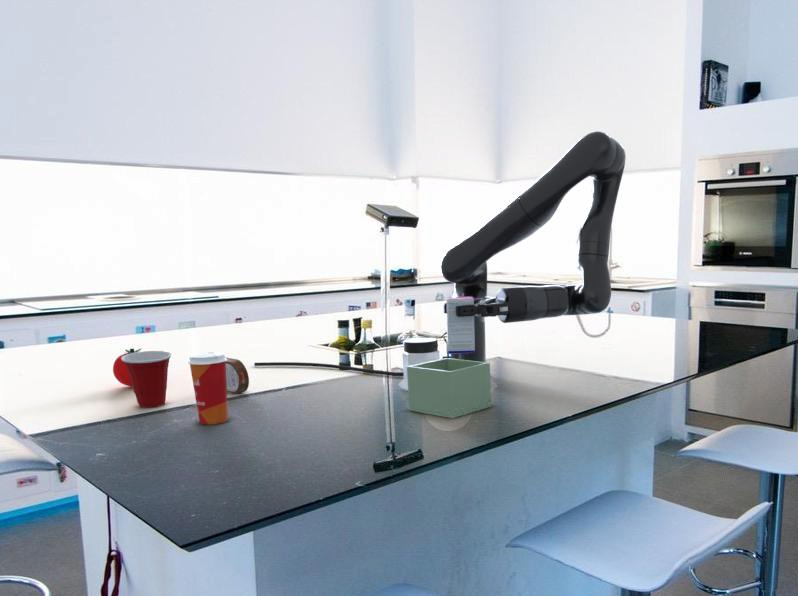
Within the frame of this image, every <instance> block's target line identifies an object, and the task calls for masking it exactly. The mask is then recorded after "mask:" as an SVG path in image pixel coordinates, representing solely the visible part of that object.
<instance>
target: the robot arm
mask: <svg viewBox="0 0 798 596" xmlns="http://www.w3.org/2000/svg"><path fill="white" fill-rule="evenodd" d="M626 160H627V156H626V151H625V149H624V147H623V145H622V144H621V143H620V142H619V141H617V140H616V139H614V138H613V137H611V136H610V135H609V134H607V133H605V132H603V131H592V132H589V133H587V134H585V135H584V136H583V137H581V138H580V139H578V141H576V143H574V144H573V145H572V146H571V147H570V148H569V150H567V152H566V153H565V154H563V156H562V157H561V158H560V159H559V160H558V161H557V162H556V163H555V164H553V166H551V167H550V168H549V169H548V170H547V171H546V172H545V173H543V174H542V175H541V176H539V177H538V178H537V179H536V180H535V181H534V182H532V183H531V185H529V186H528V187H526V188H525V189H524V190H523V191H521V192H520V193H519V194H518V195H516V196H515V197H514V198H513V199H511V200H510V201H509V202H508V203H507V204H506V205H504V207H502V208H501V209H500V210H499V211H497V213H496V214H494V215H492V217H491V218H490V219H489V220H487V221H486V222H485V223H484V224H483V225H482V226H481V227H480V228H479V229H477V230H476V231H475V232H473V233H472V234H471V235H469V236H468V237H466V238H464V239H463V240H461V241H460V242H458V243H457V244H456V245H454V246H452V247H450V248H449V249H448V250H447V251H446V252H445V253H444V254H443V256H442V259H441V260H440V274H441V276H442V277H443V279H445V280H446V281H447V282H448V283H451V284H454V289H453V293H452V295H451V296H450V297H473V299H474V305H462V306H456V316H458V317H463V316H474V334H475V352H474V353H460V354H448V348H447V347H446V354H445V355H443V356H442V359H444V358H451V359H460V360H469V361H478V362H487V349H486V318H489V317H490V318H491V317H493V318H494V317H497V318H498V319H499V321H500V322H502V323H503V324H509V323H519V322H520V323H521V322H530V321H537V320H541V319H550V318H552V319H553V318H558V317H563V316H584V315H596V314H600V313H603V312H604V311H605V310H606V309H608V306H609V304H610V302H611V299H612V298H611V297H612V285H611V283H612V282H611V277H610V276H611V275H610V269H609V265H608V263H609V257H610V255H609V254H610V244H611V232H612V226H613V225H612V224H613V220H614V219H613V218H614V213H615V208H616V203H617V200H618V195H619V191H620V186H621V182H622V178H623V175H624V170H625V167H626ZM589 177H590V181H591V195H590V202H589V204H588V208H587V211H586V213H585V216H584V218H583V220H582V222H581V225H580V228H579V231H578V238H577V245H576V247H577V248H576V259H575V265H576V268H577V269H578V270H579V271H581V272H582V283H577V284H569V285H559V284H556V285H555V284H554V285H553V284H552V285H524V286H523V285H522V286H510V287H501V288H500V289H498V291H497V293H496V296H495V297H492V296H488V263H487V262H488V261H489V260H490V259H492V258H493V257H494V256H496V255H497V254H499V253H502V252H503V251H505V250H507V249H509V248H511V247H513V246H515V245H517V244H519V243H521V242H522V241H524V240H526V239H527V238H529V237H530V236H532V235H533V234H535V233H536V232H537V231H539V230H540V229H541V228H542V227H544V226H545V225H546V224H547V223H548V222H549V221H550V220H551V219H552V217H553V216H554V215H555V213H556V212H557V210H558V208H559V206H560V204H561V203H562V202H563V199H564V198H565V196H566V195H567V194H568V193H569V192H570V191H571V190H572V189H573V188H574V187H576V186H577V185H578V184H580V183H581V182H583V181H584V180H586V179H587V178H589ZM442 310H443V313H444V314H446V315H447V302H444V303H443V304H442ZM445 343H446V345H447V341H446V342H445ZM253 365H254V367H270V366H271V367H274V366H279V367H281V366H284V367H285V366H286V367H287V366H289V367H291V366H293V367H316V368H328V369H329V368H330V369H338V370H339V369H340V370H347V371H352V372H360V373H368V374H375V375H383V376H391V377H404V373H403V372H401V371H400V372H397V371H388V370H387V371H386V370H380V369H379V370H378V369H371V368H370V369H369V368H363V367H356V366H348V365H342V364H341V365H340V364H332V363H331V364H330V363H319V362H300V361H299V362H298V361H297V362H296V361H295V362H294V361H293V362H292V361H290V362H287V361H285V362H284V361H283V362H280V361H277V362H276V361H273V362H272V361H271V362H254V364H253Z"/></svg>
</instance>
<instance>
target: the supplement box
mask: <svg viewBox="0 0 798 596" xmlns="http://www.w3.org/2000/svg"><path fill="white" fill-rule="evenodd" d="M446 303H447V314H446V342H447V344H446V349H447V348H448V354H460V353H474V352H475V334H474V316H463V317H458V316H456V306H462V305H474V299H473V297H451V296H448V297H446Z"/></svg>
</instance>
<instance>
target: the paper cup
mask: <svg viewBox="0 0 798 596" xmlns="http://www.w3.org/2000/svg"><path fill="white" fill-rule="evenodd" d="M225 357H226V355H225V353H224V352H218V351H216V352H200V353H195V354H191V355H190V356H189V360H188V362H187V364H189V368H190V374H191V379H192V385H193V392H194V397H195V398H194V399H195V402H196V409H197V415H198V420H199V424H202V425H217V424H218V425H219V424H222V423H225V422H227V421H228V417H229V416H228V415H229V414H228V413H229V411H228V392H227V382H226V361H227V358H228V357H227V358H225Z"/></svg>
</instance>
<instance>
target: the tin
mask: <svg viewBox="0 0 798 596" xmlns="http://www.w3.org/2000/svg"><path fill="white" fill-rule="evenodd" d="M225 358H227V361H226V382H227V393H229V394H232V395H233V394H234V395H236V394H240V393H245V392H246V391H247V390H248V389H249V385H250V377H249V372H248V370H247V368H246V366H245V364H244V363H243V361H241V360H240V359H237V358H231V357H226V356H225Z"/></svg>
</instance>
